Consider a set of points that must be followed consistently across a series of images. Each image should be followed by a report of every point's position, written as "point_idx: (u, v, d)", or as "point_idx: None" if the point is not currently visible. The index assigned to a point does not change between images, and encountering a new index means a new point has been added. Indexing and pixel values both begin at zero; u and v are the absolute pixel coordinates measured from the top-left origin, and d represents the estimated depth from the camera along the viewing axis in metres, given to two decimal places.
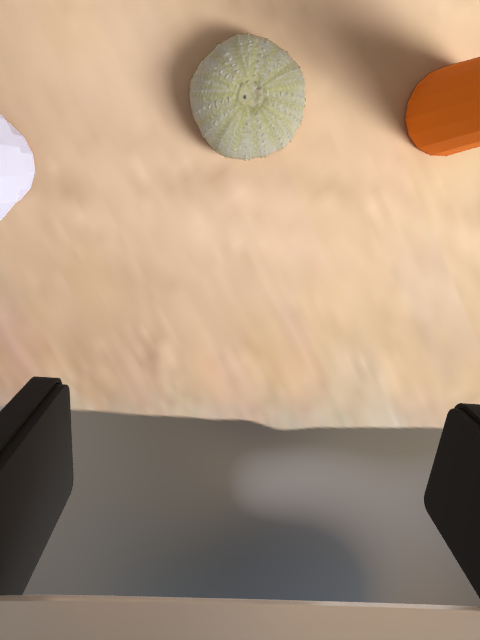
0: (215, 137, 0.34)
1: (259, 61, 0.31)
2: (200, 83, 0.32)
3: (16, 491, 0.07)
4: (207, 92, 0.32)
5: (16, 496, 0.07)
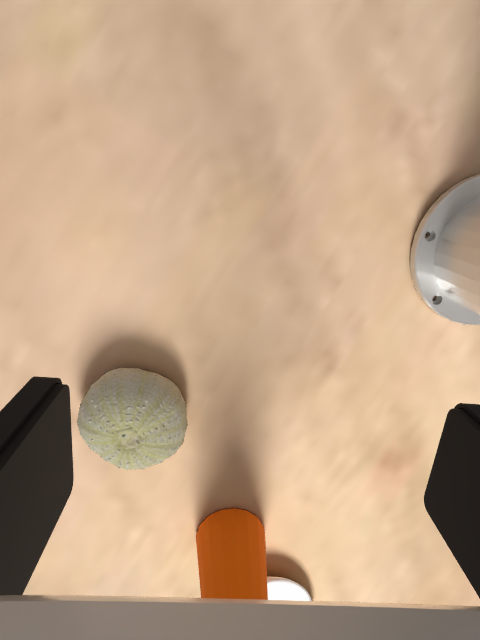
0: (82, 422, 0.34)
1: (156, 430, 0.34)
2: (111, 393, 0.33)
3: (16, 491, 0.07)
4: (107, 404, 0.33)
5: (16, 496, 0.07)
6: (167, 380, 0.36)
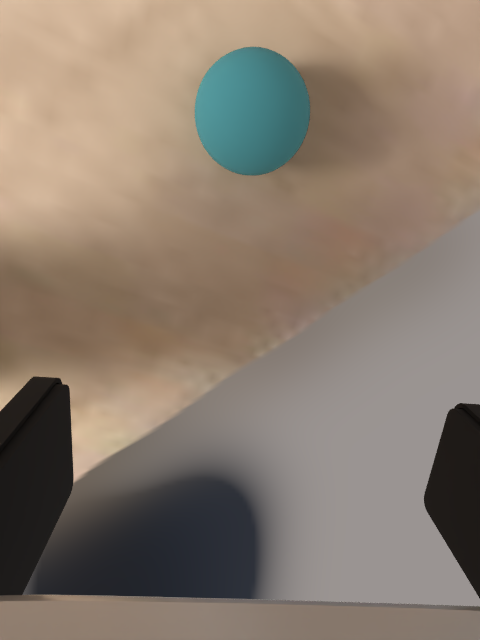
0: None
1: None
2: None
3: (16, 491, 0.07)
4: None
5: (16, 496, 0.07)
6: None
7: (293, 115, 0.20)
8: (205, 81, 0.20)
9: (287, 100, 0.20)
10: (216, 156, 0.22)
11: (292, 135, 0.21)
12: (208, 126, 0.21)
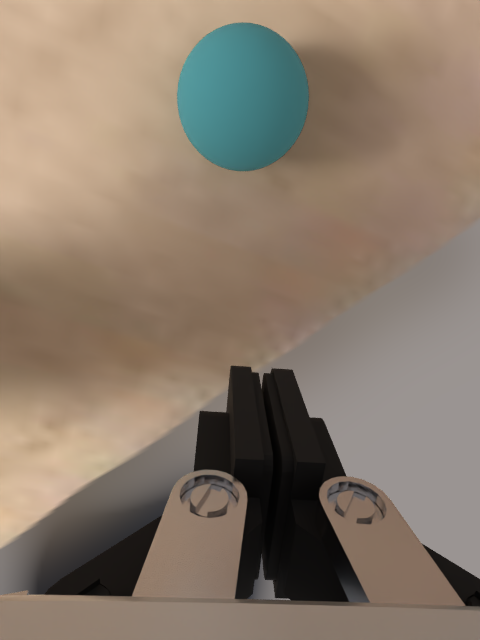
0: None
1: None
2: None
3: None
4: None
5: None
6: None
7: (289, 100, 0.17)
8: (188, 62, 0.18)
9: (282, 83, 0.17)
10: (202, 149, 0.19)
11: (289, 123, 0.18)
12: (192, 115, 0.18)
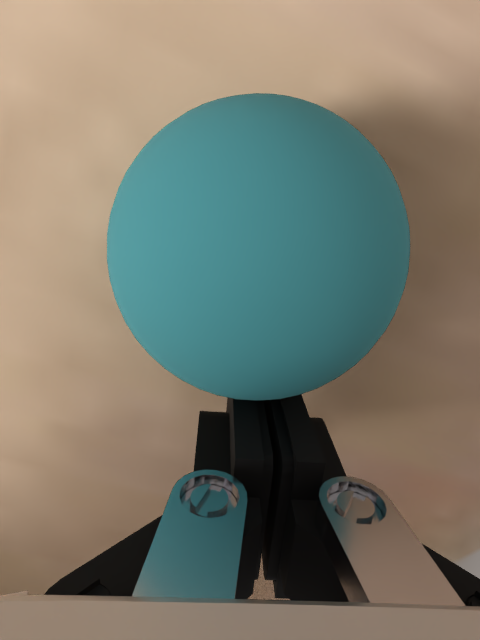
0: None
1: None
2: None
3: None
4: None
5: None
6: None
7: (390, 207, 0.07)
8: (129, 168, 0.08)
9: (368, 166, 0.07)
10: (168, 350, 0.07)
11: (395, 262, 0.07)
12: (137, 262, 0.07)
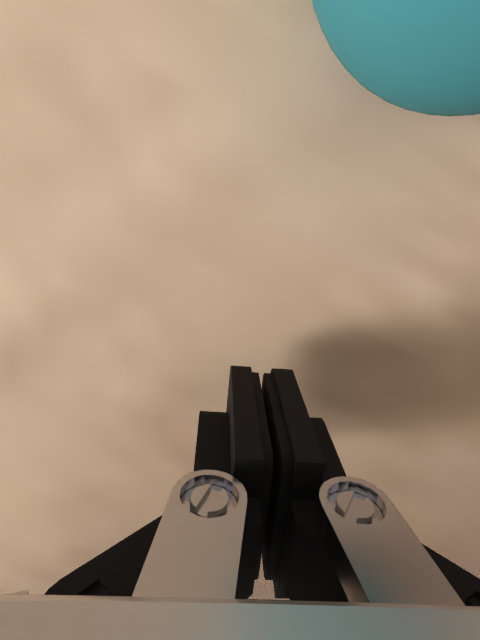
0: None
1: None
2: None
3: None
4: None
5: None
6: None
7: None
8: None
9: None
10: None
11: None
12: None
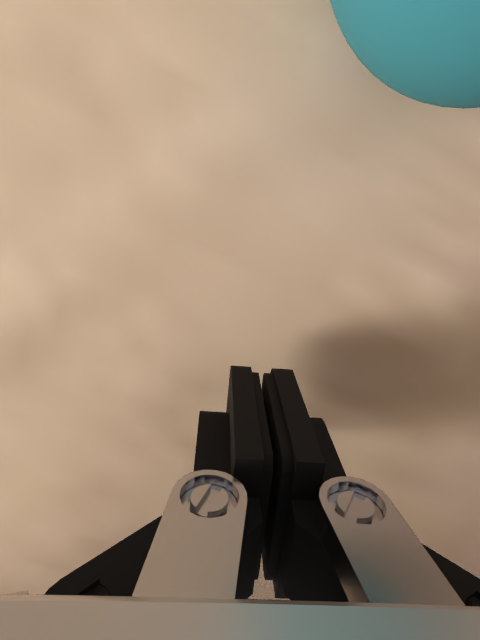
0: None
1: None
2: None
3: None
4: None
5: None
6: None
7: None
8: None
9: None
10: None
11: None
12: None
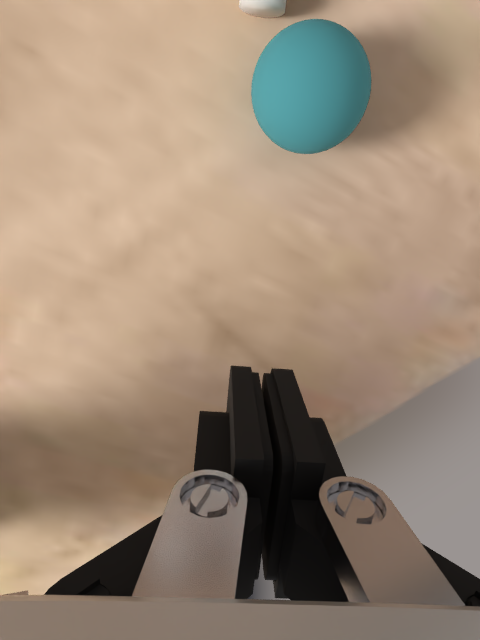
0: None
1: None
2: None
3: None
4: None
5: None
6: None
7: None
8: (267, 106, 0.20)
9: None
10: None
11: None
12: (252, 101, 0.22)
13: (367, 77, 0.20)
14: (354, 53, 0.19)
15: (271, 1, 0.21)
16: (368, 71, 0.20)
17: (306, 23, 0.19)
